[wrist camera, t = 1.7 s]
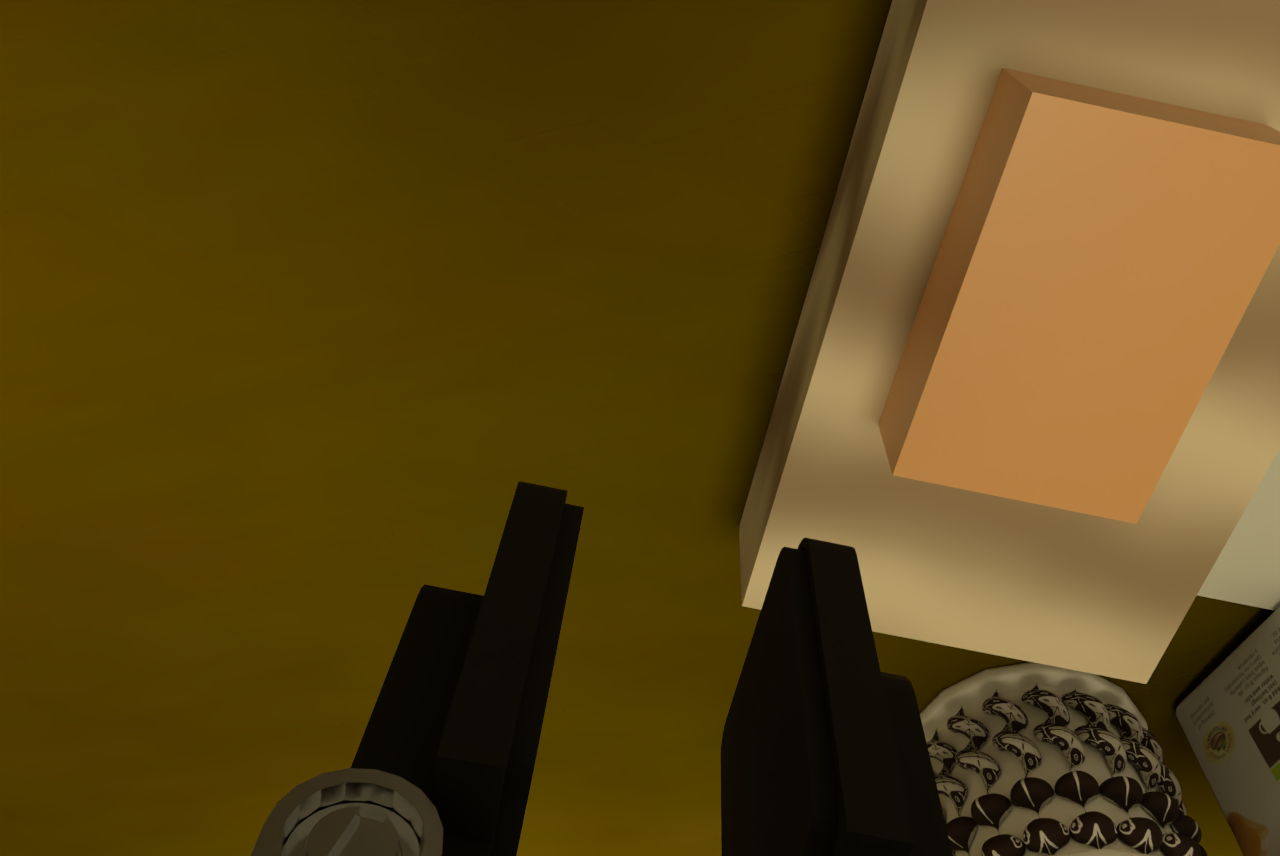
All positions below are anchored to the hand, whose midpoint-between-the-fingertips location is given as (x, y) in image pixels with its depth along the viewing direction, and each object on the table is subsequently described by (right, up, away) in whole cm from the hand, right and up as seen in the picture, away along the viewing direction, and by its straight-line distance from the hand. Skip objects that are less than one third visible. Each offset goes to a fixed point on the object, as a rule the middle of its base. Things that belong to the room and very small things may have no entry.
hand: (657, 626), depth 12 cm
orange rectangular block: (+10, +6, +14) cm, 18 cm away
